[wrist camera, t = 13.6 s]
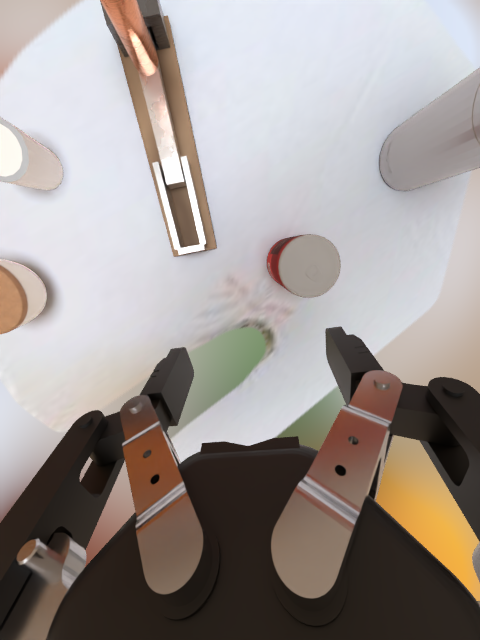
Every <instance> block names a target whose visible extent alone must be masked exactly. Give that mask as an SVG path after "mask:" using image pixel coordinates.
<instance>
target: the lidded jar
mask: <svg viewBox="0 0 480 640" xmlns="http://www.w3.org/2000/svg"><path fill="white" fill-rule="evenodd" d="M46 301H47V291H46V287H45V285H44V283H43V281H42V280H41V279H40V278H39V277H38V275H37V274H35V273H34V272H33V271H32V270H30V269H29V268H27V267H25V266H23V265H21V264H19V263H16V262H13V261H9V260H4V259H0V334H3V333H7V332H9V331H11V330H14V329H16V328H17V327H20V326H22V325H24V324H26V323H28V322H30V321H31V320H33V319H34V318H35V317H37V316H38V315H39V314H40V313H41V312H42V310H43V309H44V307H45V304H46Z"/></svg>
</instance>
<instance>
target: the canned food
mask: <svg viewBox="0 0 480 640" xmlns="http://www.w3.org/2000/svg"><path fill="white" fill-rule="evenodd" d="M340 267H341V264H340V257H339V253H338V251H337V249H336V248H335V246H334V245H333V244H332V243H331V242H330V241H329V240H327V239H326V238H324V237H321V236H318V235H311V234H309V235H300V236H295V237H290V238H285V239H282V240H280V241H278V242H277V243H276V244H275V245H274V246H273V247H272V248H271V250H270V252H269V254H268V257H267V268H268V271H269V273H270V275H271V276H272V278H273V279H274V280H275V281H276V282H278V283H279V284H280V285H282V286H283V287H284V288H286V289H287V290H288V291H290V292H291V293H293V294H295V295H298V296H301V297H307V298H311V297H317V296H320V295H322V294H324V293H326V292H327V291H328V290H329V289H331V287H332V286H333V285H334V284H335V282H336V280H337V279H338V276H339V273H340Z"/></svg>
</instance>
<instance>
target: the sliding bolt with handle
mask: <svg viewBox="0 0 480 640" xmlns="http://www.w3.org/2000/svg"><path fill="white" fill-rule="evenodd" d="M100 1H101V3H102V5H103V7H104V8H105V10H106V12H107V14H108V16H109V18H110V20H111V22H112V24H113V26H114V28H115V29H116V31H117V33H118V35H119V37H120V39H121V41H122V43H123V45H124V47H125V49H126V50H127V52H128V54H129V56H130V58H131V60H132V62H133V64H134V66H135V68H136V69H137V71H138V72H139V76H140V80H141V84H142V88H143V92H144V96H145V100H146V104H147V108H148V112H149V116H150V120H151V124H152V128H153V132H154V136H155V140H156V144H157V148H158V152H159V156H160V160H161V164H162V168H163V171H164V175H165V179H166V183H167V185H168V186H169V187H170V188H171V189H174V188H179V187H184V186H187V184H186V179H185V175H184V171H183V166H182V162H181V158H180V152H179V148H178V144H177V139H176V135H175V131H174V126H173V122H172V117H171V113H170V109H169V104H168V100H167V96H166V91H165V87H164V82H163V78H162V74H161V69H160V65H159V61H158V56H157V52H156V47H155V43H154V39H153V34H152V30H151V26H150V27H147V26H146V24H145V21H144V18H143V16H142V13H141V10H140V8H139V5H138V2H137V0H100Z"/></svg>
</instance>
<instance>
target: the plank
mask: <svg viewBox="0 0 480 640" xmlns="http://www.w3.org/2000/svg"><path fill="white" fill-rule="evenodd" d="M164 20H165V25H166V29H167V34H168V39H169V43H170V48H167V49H162V50H157V51H156V52H157V56H158V61H159V65H160V69H161V74H162V78H163V82H164V87H165V91H166V96H167V100H168V104H169V109H170V113H171V117H172V122H173V126H174V131H175V135H176V139H177V144H178V148H179V152H180V157H183V156H187V158H188V160H189V162H190V165H191V169H192V174H193V178H194V183H195V188H196V192H197V197H198V201H199V206H200V210H201V215H202V219H203V224H204V229H205V233H206V238H207V242H208V244H205V245H206V250H210V249H215V248H217V247H216V242H215V237H214V232H213V228H212V223H211V218H210V213H209V209H208V204H207V199H206V194H205V189H204V185H203V180H202V175H201V170H200V166H199V161H198V156H197V151H196V146H195V142H194V137H193V132H192V127H191V123H190V118H189V113H188V108H187V103H186V99H185V94H184V89H183V84H182V80H181V75H180V70H179V65H178V60H177V56H176V51H175V46H174V41H173V37H172V32H171V27H170V22H169V19H168V16H164ZM117 45H118V44H117ZM118 49H119V53H120V57H121V60H122V64H123V68H124V72H125V75H126V79H127V83H128V87H129V90H130V94H131V98H132V102H133V105H134V109H135V113H136V117H137V120H138V124H139V128H140V132H141V135H142V139H143V143H144V147H145V150H146V154H147V158H148V162H149V165H150V169H151V173H152V177H153V180H154V184H155V188H156V192H157V195H158V199H159V203H160V207H161V210H162V214H163V218H164V222H165V225H166V229H167V233H168V237H169V240H170V244H171V248H172V252H173V255H174V257H175V256H180V255H185V254H180V255H179V252H178V249H176V250H175V248H174V244H173V240H172V237H171V233H170V229H169V225H168V221H167V217H166V214H165V210H164V206H163V202H162V198H161V195H160V191H159V187H158V183H157V179H156V176H155V172H154V168H153V164H152V163H154V162H159V163H160V165H161V166H162V164H161V160H160V156H159V152H158V148H157V144H156V140H155V136H154V132H153V128H152V124H151V120H150V116H149V112H148V108H147V104H146V100H145V96H144V92H143V88H142V84H141V80H140V76H139V72H138V71H137V69H136V68H135V66H134V64H133V62H132V60H131V58H130V56H129V57H124V55H123V53H122V52H121V50H120V48H119V46H118ZM169 188H170V187H169ZM170 192H171V196H172V200H173V204H174V208H175V212H176V216H177V220H178V224H179V228H180V232H181V236H182V240H183V244H184V248H185V247H190V246H195V245H200V241H199V236H198V232H197V227H196V223H195V219H194V214H193V210H192V206H191V201H190V197H189V192H188V188H187V186H184V187H179V188H174V189H171V188H170ZM201 251H205V250H201ZM196 252H200V251H196ZM191 253H195V252H191ZM186 254H190V253H186Z"/></svg>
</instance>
